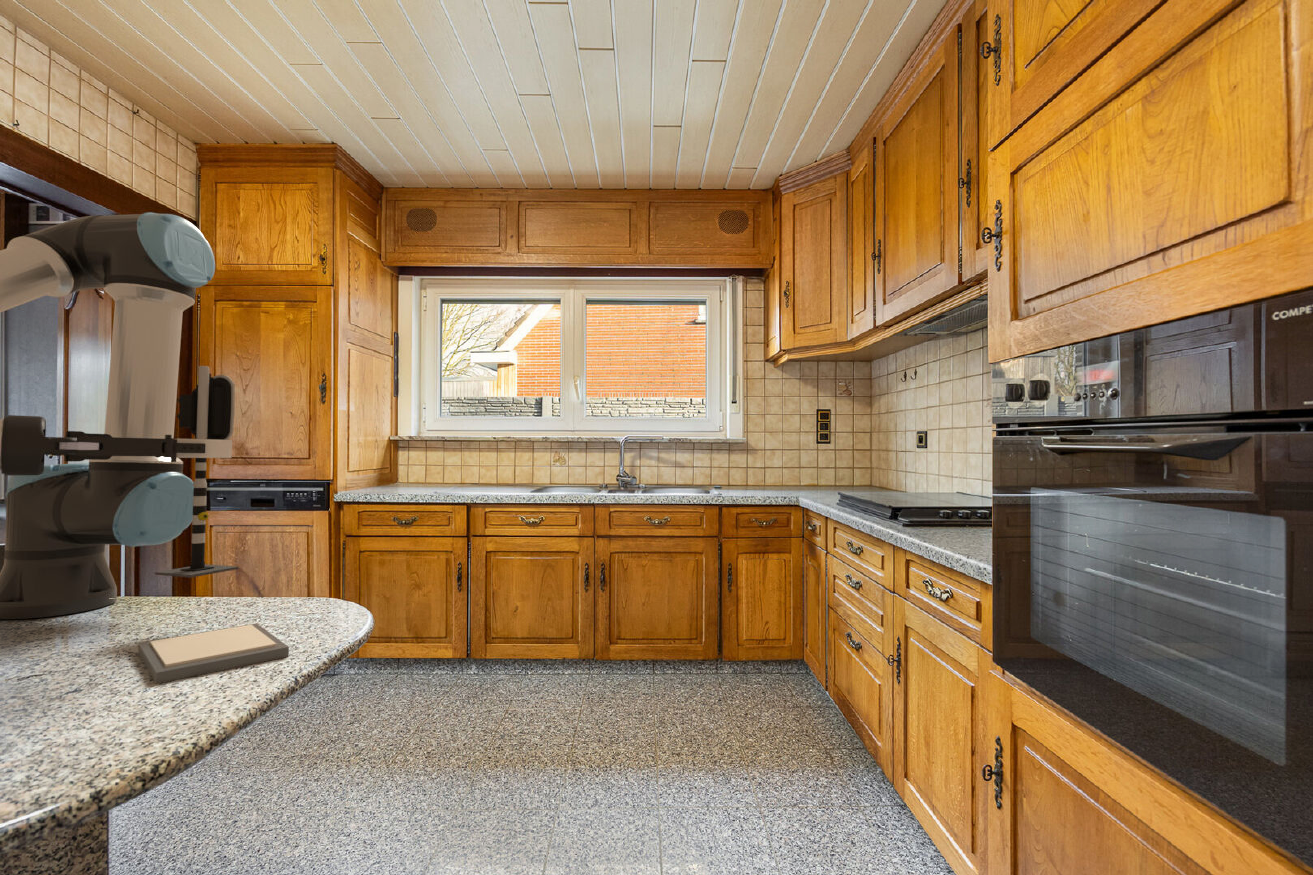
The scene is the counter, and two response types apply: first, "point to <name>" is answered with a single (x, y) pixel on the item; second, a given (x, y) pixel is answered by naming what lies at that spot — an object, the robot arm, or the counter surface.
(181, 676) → the plate
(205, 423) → the miniature traffic light
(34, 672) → the counter surface
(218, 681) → the counter surface
